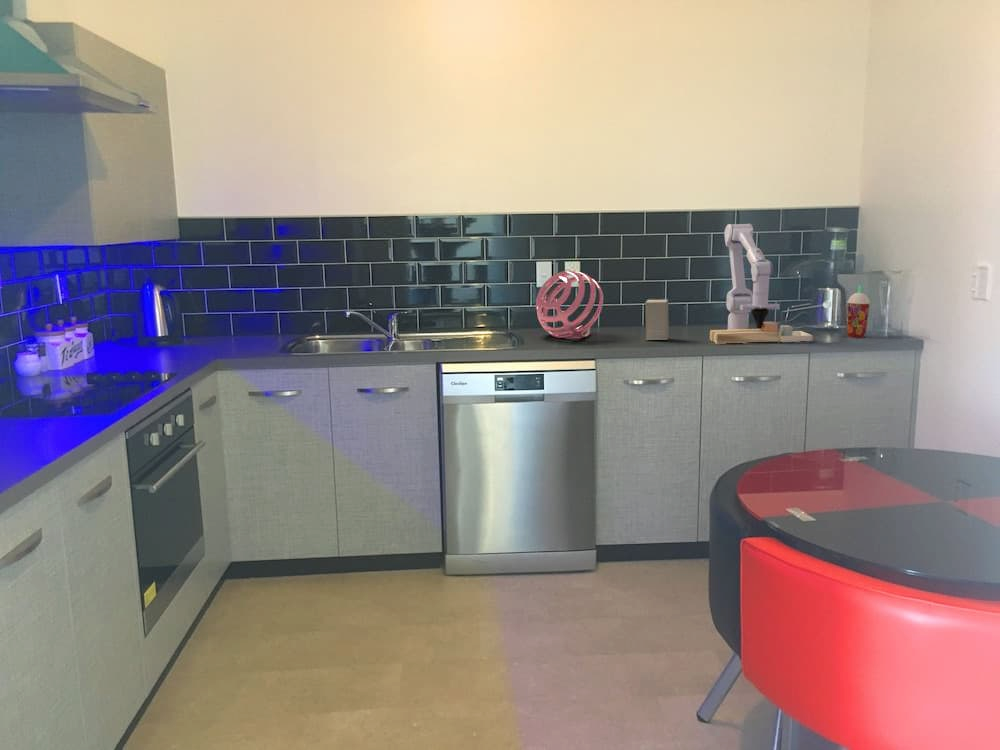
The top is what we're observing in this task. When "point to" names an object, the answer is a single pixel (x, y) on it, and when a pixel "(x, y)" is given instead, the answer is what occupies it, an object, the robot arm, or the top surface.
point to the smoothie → (857, 314)
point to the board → (742, 336)
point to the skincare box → (657, 320)
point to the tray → (796, 337)
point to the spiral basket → (563, 315)
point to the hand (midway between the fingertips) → (758, 328)
